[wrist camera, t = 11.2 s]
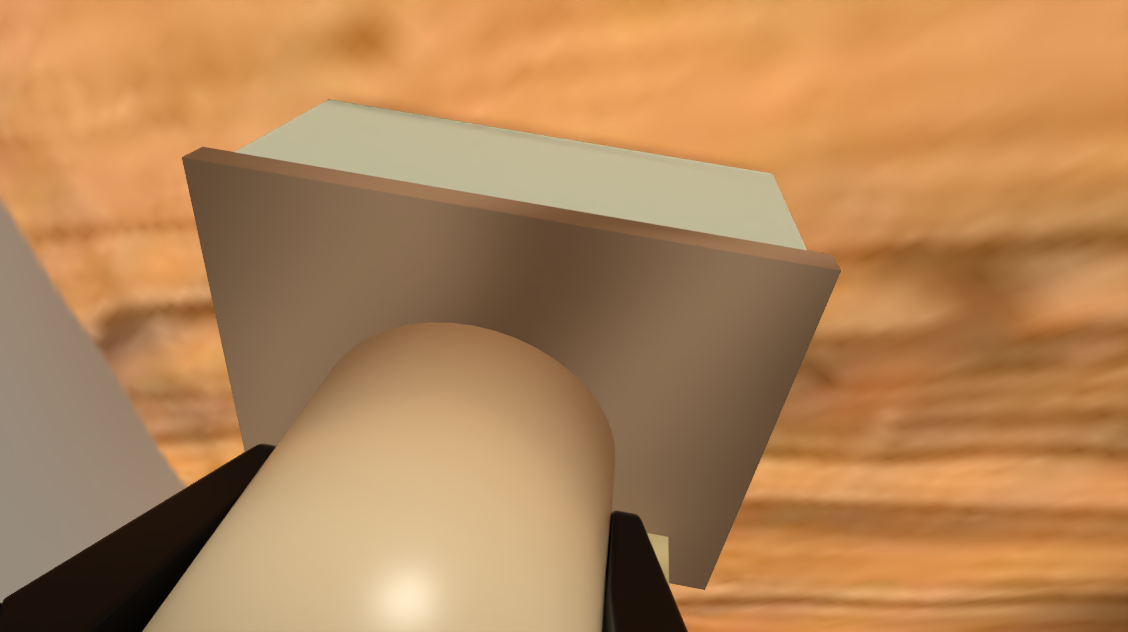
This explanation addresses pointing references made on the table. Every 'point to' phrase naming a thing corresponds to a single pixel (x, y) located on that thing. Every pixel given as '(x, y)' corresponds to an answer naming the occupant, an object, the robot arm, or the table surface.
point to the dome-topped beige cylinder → (419, 500)
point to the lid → (519, 318)
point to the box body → (536, 170)
